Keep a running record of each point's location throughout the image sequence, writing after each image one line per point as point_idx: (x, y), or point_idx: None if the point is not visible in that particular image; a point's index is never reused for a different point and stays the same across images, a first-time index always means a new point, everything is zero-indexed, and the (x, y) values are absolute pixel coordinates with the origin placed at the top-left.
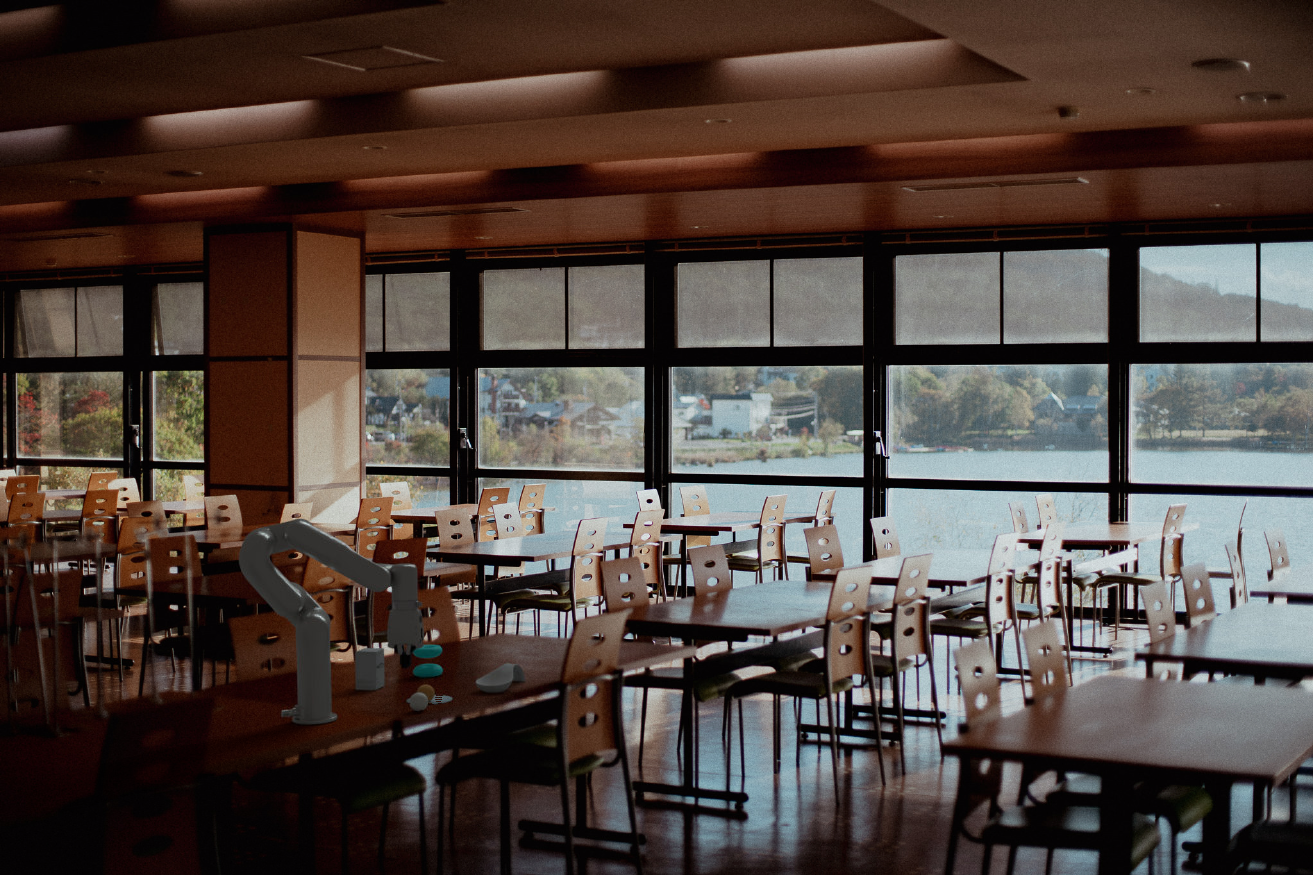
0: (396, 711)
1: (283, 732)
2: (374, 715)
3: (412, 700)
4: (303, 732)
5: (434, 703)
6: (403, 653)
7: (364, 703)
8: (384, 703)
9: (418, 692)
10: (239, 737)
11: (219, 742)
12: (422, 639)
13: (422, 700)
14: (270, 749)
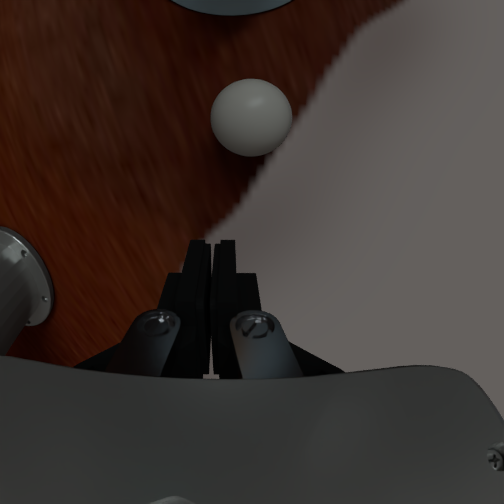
0: (163, 131)
1: None
2: (114, 203)
3: (233, 151)
4: None
5: (274, 2)
6: (196, 374)
7: (24, 42)
8: (80, 19)
9: (252, 115)
10: None
11: None
12: (466, 377)
13: (277, 146)
14: None
